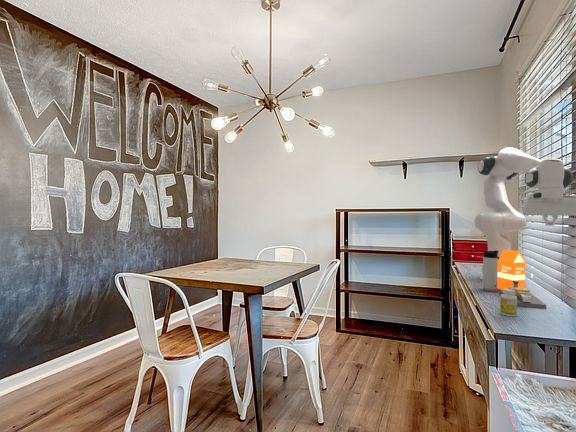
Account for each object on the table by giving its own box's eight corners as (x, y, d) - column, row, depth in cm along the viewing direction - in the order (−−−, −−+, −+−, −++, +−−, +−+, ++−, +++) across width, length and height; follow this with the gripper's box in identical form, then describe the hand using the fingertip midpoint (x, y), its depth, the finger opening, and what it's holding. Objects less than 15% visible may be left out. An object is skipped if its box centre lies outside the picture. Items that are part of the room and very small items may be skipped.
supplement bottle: (518, 317, 126) (519, 292, 126) (501, 315, 128) (502, 290, 128) (514, 313, 131) (515, 288, 131) (498, 311, 133) (499, 287, 133)
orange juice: (508, 287, 175) (509, 249, 175) (525, 291, 167) (526, 251, 166) (497, 288, 173) (497, 249, 172) (512, 292, 164) (513, 251, 164)
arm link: (508, 290, 161) (509, 279, 161) (519, 291, 159) (520, 280, 159) (520, 301, 142) (521, 289, 141) (533, 303, 140) (533, 290, 140)
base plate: (499, 292, 164) (499, 289, 164) (529, 295, 159) (529, 292, 159) (512, 305, 142) (512, 301, 142) (546, 308, 138) (546, 305, 138)
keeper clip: (508, 295, 152) (508, 286, 152) (526, 297, 150) (527, 288, 150) (510, 298, 148) (510, 288, 148) (529, 299, 146) (529, 290, 146)
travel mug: (499, 292, 165) (500, 251, 165) (485, 291, 166) (486, 251, 166) (494, 289, 171) (495, 250, 171) (480, 288, 172) (481, 249, 172)
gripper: (576, 194, 150) (575, 225, 150) (522, 194, 157) (521, 224, 157) (583, 194, 144) (581, 226, 144) (526, 194, 151) (525, 225, 152)
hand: (549, 225), depth 151 cm, fingers closed
